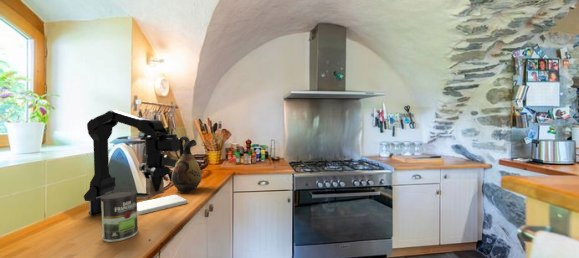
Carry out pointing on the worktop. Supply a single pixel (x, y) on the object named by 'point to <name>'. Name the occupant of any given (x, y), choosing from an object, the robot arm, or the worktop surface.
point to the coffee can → (119, 215)
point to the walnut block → (150, 188)
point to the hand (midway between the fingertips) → (154, 190)
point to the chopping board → (159, 204)
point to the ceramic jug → (186, 168)
